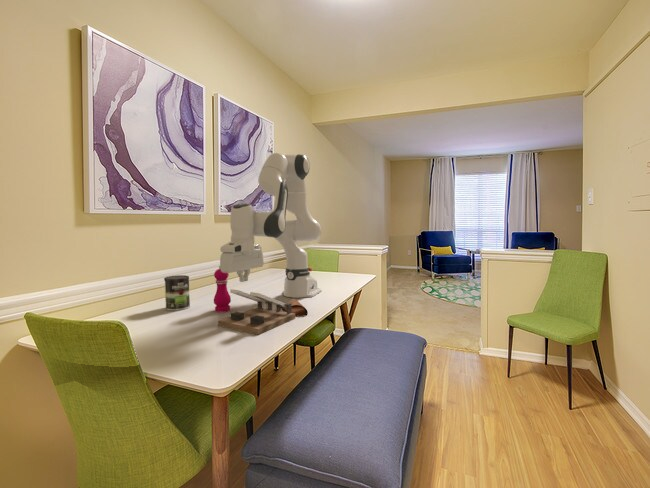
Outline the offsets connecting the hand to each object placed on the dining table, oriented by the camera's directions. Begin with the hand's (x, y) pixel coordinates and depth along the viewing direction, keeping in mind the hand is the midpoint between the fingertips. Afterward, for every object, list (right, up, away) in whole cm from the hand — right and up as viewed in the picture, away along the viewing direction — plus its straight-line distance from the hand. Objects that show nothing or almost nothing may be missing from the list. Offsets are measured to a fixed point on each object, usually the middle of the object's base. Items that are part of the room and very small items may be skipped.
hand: (243, 281), depth 133 cm
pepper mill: (-14, -15, +18) cm, 27 cm away
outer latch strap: (+10, -8, -2) cm, 13 cm away
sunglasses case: (+18, -15, +16) cm, 28 cm away
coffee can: (-35, -15, +22) cm, 44 cm away
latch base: (+5, -16, +1) cm, 17 cm away
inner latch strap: (+2, -7, +3) cm, 8 cm away
